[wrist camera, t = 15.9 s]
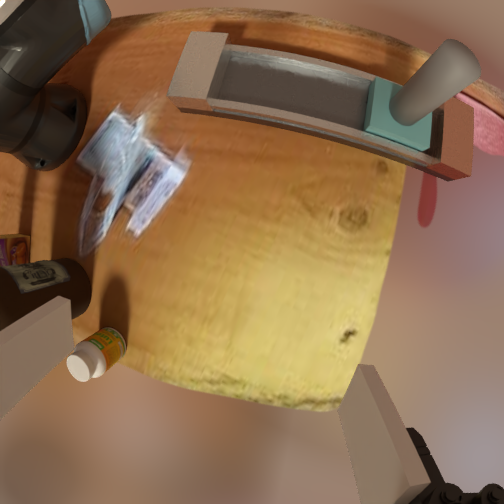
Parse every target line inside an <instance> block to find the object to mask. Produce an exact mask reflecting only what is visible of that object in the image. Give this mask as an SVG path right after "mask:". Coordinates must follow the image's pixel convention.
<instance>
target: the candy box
mask: <svg viewBox="0 0 504 504" xmlns="http://www.w3.org/2000/svg"><path fill="white" fill-rule="evenodd" d="M29 250H30V236H27V235H22V234H7V235H0V266H8V265H17V264H26V263H29Z"/></svg>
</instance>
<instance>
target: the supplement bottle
mask: <svg viewBox="0 0 504 504" xmlns="http://www.w3.org/2000/svg"><path fill="white" fill-rule="evenodd" d="M125 352H126V343H125V340H124V338H123V337H122V335H121V334H120V333H119V332H118V331H117V330H115V329H113V328H109V327H106V328H103V329H101V330H99V331H98V332H96V333H94V334H93V335H91V336H89V337H88V338H86V339H84V340H83V341H81V342H80V343H78V344H77V345H76V347H75V349H74V353H72V354H71V355H69V356H68V358H67V366H68V369H69V371H70V373H71V374H72V375H73V376H74V378H76V379H77V380H79V381H82V382H85V381H87V380H89V379H90V378H91V377H94V378H95V377H99V376H101V375H102V374H104V373H105V372H106V371H107V370H108V369H109V368H111V367H112V366H113V365H114V364H115V363H116V362H118V361H119V360H120V359H121V358H122V357H123V356H124V355H125Z"/></svg>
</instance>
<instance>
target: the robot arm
mask: <svg viewBox="0 0 504 504" xmlns="http://www.w3.org/2000/svg"><path fill="white" fill-rule="evenodd" d="M110 20H111V11H110V9H109V7H108V5H107V3H106V1H105V0H0V152H5V153H10V154H12V155H13V156H15V157H16V158H17V159H19V160H20V161H21V162H22V163H24V164H25V165H26V166H28V167H29V168H31V169H34V170H39V171H50V170H53V169H55V168H57V167H59V166H60V165H61V164H62V163H64V162H65V161H66V160H67V159H68V157H69V156H70V155H71V154H72V152H73V151H74V149H75V148H76V146H77V144H78V142H79V140H80V138H81V136H82V133H83V130H84V127H85V123H86V116H87V106H86V101H85V98H84V96H83V95H82V93H81V92H80V91H78V90H77V89H75V88H73V87H72V86H70V85H66V84H55V83H48V81H49V80H50V79H51V78H52V77H53V76H54V75H55V74H56V73H57V72H58V71H59V70H60V69H61V68H62V67H63V66H64V65H65V64H66V63H67V62H68V61H69V60H70V59H71V58H72V57H73V56H75V55H76V54H77V53H78V52H79V51H80V50H81V49H82V48H83V47H84V46H86V45H88V44H90V42H91V40H92V39H93V38H94V37H95V36H96V35H97V34H99V33H100V32H101V31H102V30H103V29H104V28H105V27H106V26H107V25H108V24H109V22H110ZM73 350H74V341H73V331H72V319H71V302H70V300H69V299H66V298H64V297H61V296H57V297H55V298H54V299H52V300H50V301H49V302H47V303H45V304H44V305H42V306H40V307H39V308H37V309H35V310H34V311H32V312H30V313H29V314H27V315H25V316H24V317H22V318H21V319H19V320H17V321H16V322H14V323H13V324H11V325H9V326H8V327H6V328H5V329H3V330H2V331H0V420H1V419H2V418H3V417H4V416H5V415H6V414H7V413H8V412H9V411H10V410H11V409H12V408H13V407H14V406H15V405H16V404H17V403H18V402H19V401H20V400H21V399H22V398H23V397H24V396H25V395H26V394H27V393H28V392H29V391H30V390H31V389H32V388H33V387H34V386H35V385H37V384H38V382H40V381H41V380H42V379H43V378H44V377H45V376H46V375H47V374H48V373H49V372H50V371H51V370H52V369H53V368H54V367H56V366H57V365H58V364H59V363H60V362H61V361H62V360H63V359H64V358H65V357H66V356H67V355H68V354H70V353H71V352H72V351H73ZM338 414H339V418H340V421H341V425H342V429H343V433H344V436H345V440H346V444H347V448H348V452H349V456H350V460H351V464H352V468H353V472H354V476H355V481H356V485H357V489H358V494H359V498H360V502H361V504H504V489H503V488H502V487H501V486H499V485H497V484H488V485H487V486H485V487H484V488H483V489H482V490H481V491H480V492H479V493H463V491H462V490H461V489H460V488H459V487H458V486H456V485H454V484H451V483H445V481H444V480H443V477H442V475H441V473H440V471H439V469H438V467H437V465H436V463H435V461H434V459H433V457H432V455H430V451H429V449H428V448H427V447H426V446H427V445H426V443H425V441H424V439H423V437H422V436H421V435H420V434H419V433H418V432H417V431H416V430H415V429H414V428H405V426H404V423H403V421H402V420H401V417H400V415H399V413H398V412H397V409H396V407H395V405H394V403H393V402H392V400H391V398H390V396H389V394H388V392H387V390H386V388H385V386H384V384H383V382H382V380H381V378H380V377H379V375H378V373H377V371H376V369H375V367H374V366H373V365H363V364H358V366H357V368H356V371H355V373H354V375H353V378H352V380H351V382H350V384H349V387H348V389H347V391H346V393H345V395H344V398H343V400H342V402H341V404H340V406H339V408H338Z"/></svg>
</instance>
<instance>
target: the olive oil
mask: <svg viewBox="0 0 504 504" xmlns="http://www.w3.org/2000/svg"><path fill="white" fill-rule="evenodd" d="M57 296H61V297H64V298H66V299H69V300H70V302H71V319H74V318H76V317H78V316H80V315H81V314H83V313H84V312H85V311H86V310H87V308H88V306H89V304H90V299H91V288H90V283H89V279H88V277H87V275H86V273H85V271H84V269H83V268H82V267H81V266H80V265H79V264H78V263H77V262H76V261H74V260H72V259H67V258H64V259H57V260H49V261H48V260H43V261H36V262H34V263H26V264H17V265H8V266H0V331H2V330H3V329H5V328H6V327H8V326H9V325H11V324H13V323H14V322H16V321H17V320H19V319H21V318H22V317H24V316H25V315H27V314H29V313H30V312H32V311H34V310H35V309H37V308H39V307H40V306H42V305H44V304H45V303H47V302H49V301H50V300H52V299H54V298H55V297H57Z"/></svg>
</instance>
